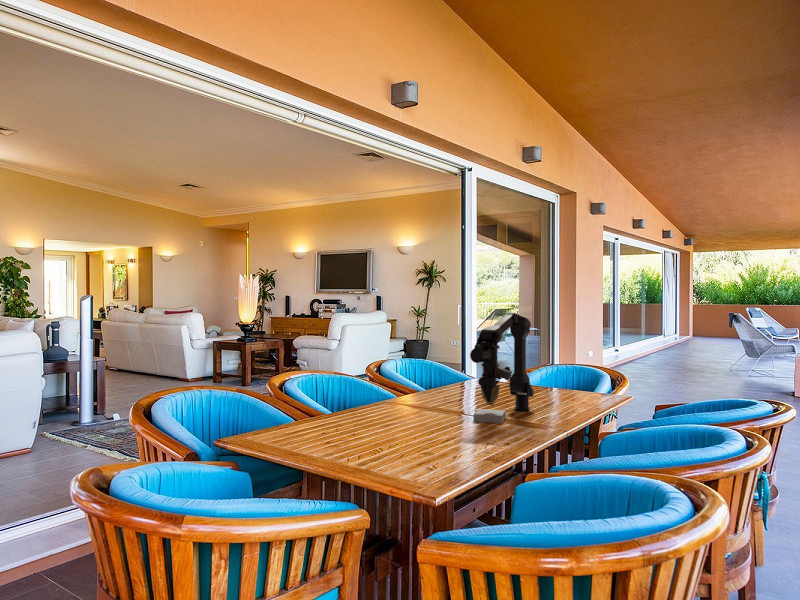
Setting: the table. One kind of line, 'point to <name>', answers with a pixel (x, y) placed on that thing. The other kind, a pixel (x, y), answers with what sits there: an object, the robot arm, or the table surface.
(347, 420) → the table surface
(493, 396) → the ornate bronze lamp shade
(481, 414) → the plinth
